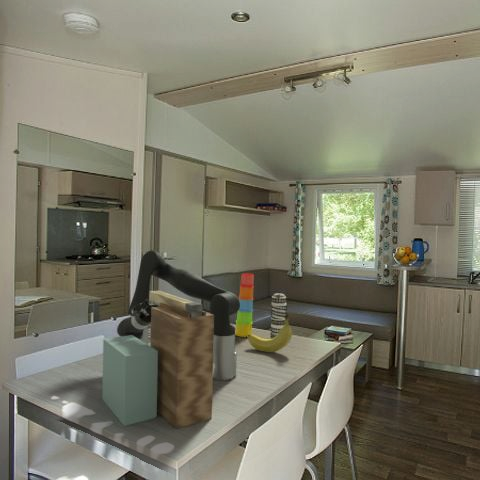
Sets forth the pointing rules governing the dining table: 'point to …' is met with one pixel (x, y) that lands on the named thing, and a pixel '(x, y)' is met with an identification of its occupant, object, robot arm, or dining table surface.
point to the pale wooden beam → (176, 303)
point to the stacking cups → (245, 306)
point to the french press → (147, 335)
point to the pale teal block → (130, 379)
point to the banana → (274, 343)
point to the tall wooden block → (183, 364)
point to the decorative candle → (277, 313)
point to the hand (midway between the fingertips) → (159, 301)
